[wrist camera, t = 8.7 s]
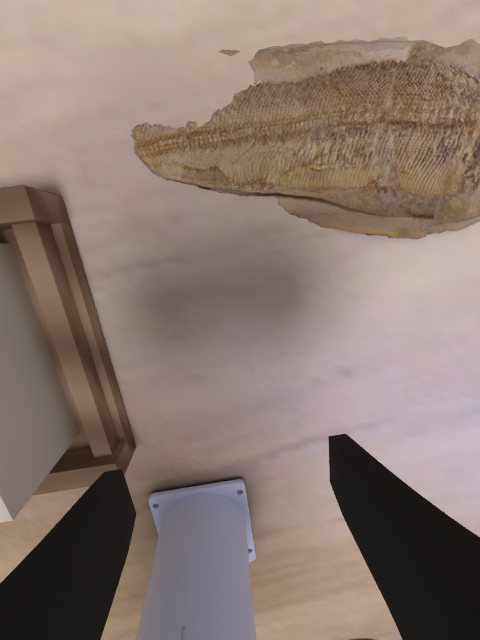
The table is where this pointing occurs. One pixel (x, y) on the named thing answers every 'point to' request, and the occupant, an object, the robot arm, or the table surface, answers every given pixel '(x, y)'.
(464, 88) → the fish fossil
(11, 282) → the clay bar
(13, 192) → the rack
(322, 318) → the table surface
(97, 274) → the table surface
